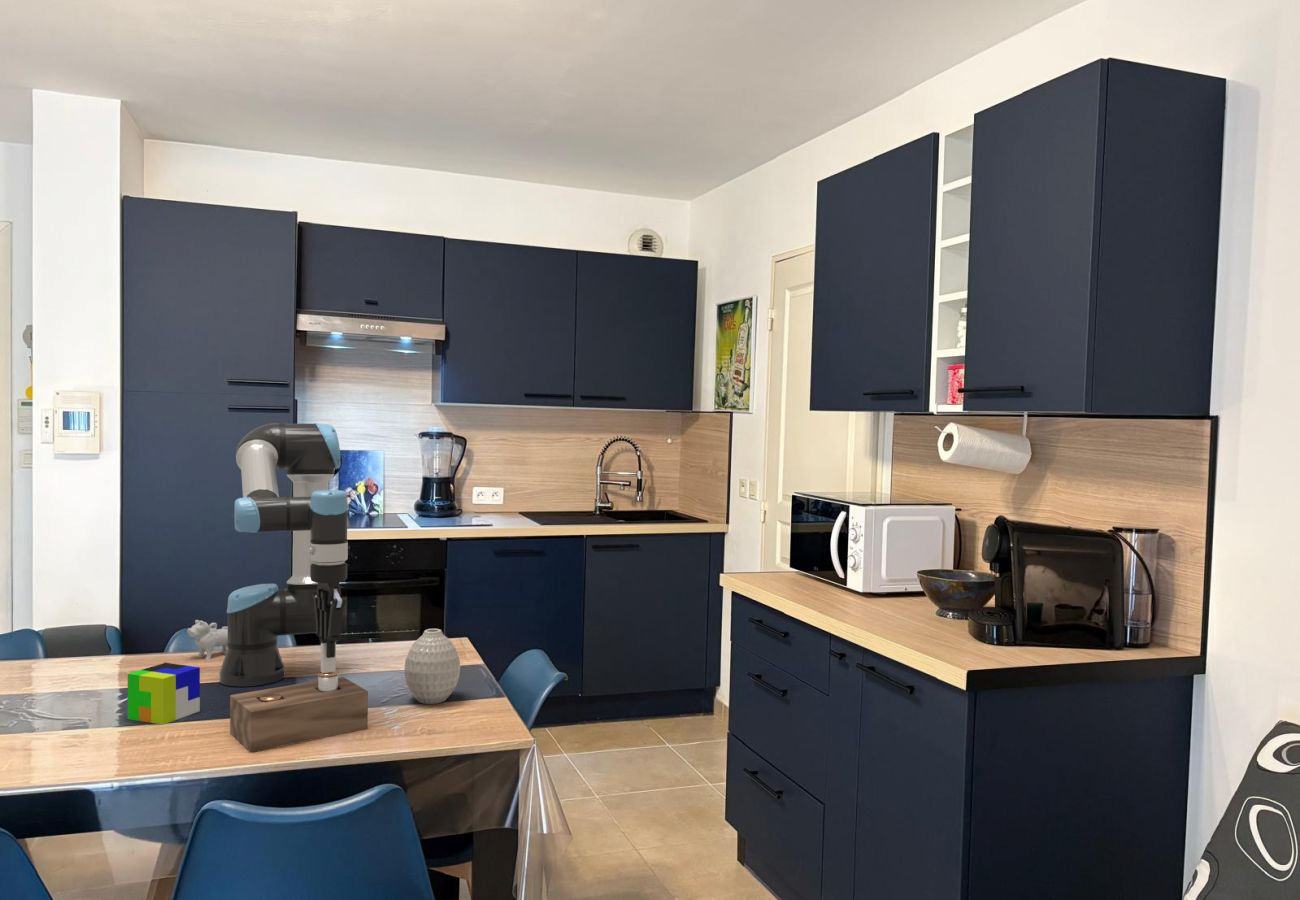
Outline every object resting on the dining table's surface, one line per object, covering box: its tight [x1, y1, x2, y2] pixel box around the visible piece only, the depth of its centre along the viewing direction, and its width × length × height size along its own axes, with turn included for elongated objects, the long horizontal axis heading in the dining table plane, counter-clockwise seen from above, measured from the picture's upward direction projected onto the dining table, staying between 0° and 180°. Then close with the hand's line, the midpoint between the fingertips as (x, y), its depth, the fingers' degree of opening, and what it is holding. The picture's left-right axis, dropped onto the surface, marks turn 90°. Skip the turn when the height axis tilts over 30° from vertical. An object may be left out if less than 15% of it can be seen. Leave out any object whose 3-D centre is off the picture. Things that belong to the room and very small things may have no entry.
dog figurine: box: [186, 619, 228, 661], centre depth 254 cm, size 5×13×11 cm, turn 145°
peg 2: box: [317, 670, 339, 693], centre depth 199 cm, size 4×4×8 cm
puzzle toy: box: [127, 662, 201, 726], centre depth 204 cm, size 10×10×10 cm
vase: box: [403, 628, 461, 705], centre depth 218 cm, size 13×13×17 cm
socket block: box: [229, 676, 369, 753], centre depth 196 cm, size 14×24×8 cm, turn 130°
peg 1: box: [260, 694, 281, 703], centre depth 192 cm, size 4×4×8 cm
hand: (328, 671), depth 199 cm, fingers closed
